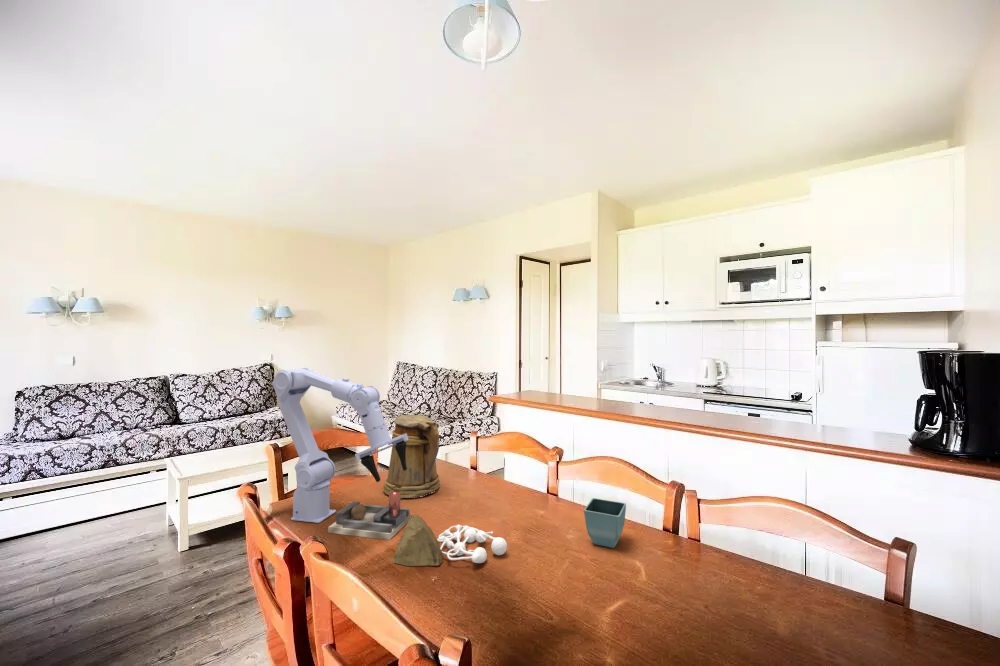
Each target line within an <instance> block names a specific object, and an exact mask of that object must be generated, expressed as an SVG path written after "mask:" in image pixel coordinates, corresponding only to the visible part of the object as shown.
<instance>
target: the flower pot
mask: <svg viewBox="0 0 1000 666" xmlns="http://www.w3.org/2000/svg"><path fill="white" fill-rule="evenodd" d="M626 509H627V504H626V503H625V502H621V501H615V500H614V501H613V500H607V499H601V498H597V497H594V498H591V499H590V501H589V502H588V504H587V505H586V506H585V507H584V509H583V512H584V521H585V527H586V532H587V534H588V536H589V538H590V541H592V543H593V544H594V545H598V546H601V547H606V548H610V549H611V548H612V549H614V548H616V547H617V544H618V542H619V539H620V537H621V535H622V533H623V530H624V527H625V522H626V521H625V520H626Z"/></svg>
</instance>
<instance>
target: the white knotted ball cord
mask: <svg viewBox="0 0 1000 666" xmlns="http://www.w3.org/2000/svg"><path fill="white" fill-rule="evenodd" d="M454 528H455V531H454V532H451V530H452V529H454ZM462 533H463V541H461V538H462V536H461V535H462ZM493 533H494V531H488V532H486V531H484V530H483V529H479V528H476V527H472V526H469V525H461V524H456V525H452V526H450V527H449V528H448V529H445V530H444V531H443V532H441V533H440V534H439V535H438V538H436V539H437V540H438V543H441V542H442V544H441V546H440V549H441V550H442V555H446V556H447V557H446V558H447V559H448V560H449V561H462V560H471V561H472V563H476V564H482V563H485V562H486V560H487V557H488V554H487V551H486V549H485V548H484V547H480V546H478V547H476V548H475V549H469V550H468V551H467V550H466V549H467V548H466V543H469V544H471V543H474V542H475V541H477V543H484V542H486V540H487V539H490V540H491V541H492V542H491V547H490V548H491V550H492V552H493V554H494V555H496V556H502V555H504V554H505V553H506V551H507V550H508V544H507V541H506V540H505V539H504V538H503V537H501V536H500V537H495V536H492V535H493ZM452 540H454V541H456V543H454V542H453V541H452ZM444 546H446V547H447V549H449V550H448V551H443V547H444ZM452 552H453V553H452ZM463 555H467V556H463ZM454 556H458V557H454Z"/></svg>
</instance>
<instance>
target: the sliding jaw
mask: <svg viewBox="0 0 1000 666" xmlns="http://www.w3.org/2000/svg"><path fill="white" fill-rule="evenodd" d="M400 508H401V498H400V490H391V491H389V495H388V504H387V505H386V507H385V508H383V509H382V510H381V511H379V512H378V513H377V514H376V515H374V522H375V523H384V524H392V528H397V527H398V526H399V525H400V524H401V523H402V522H403V521H404V520H405V519H406V510H405V509H400Z"/></svg>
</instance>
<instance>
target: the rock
mask: <svg viewBox="0 0 1000 666" xmlns="http://www.w3.org/2000/svg"><path fill="white" fill-rule="evenodd" d="M437 539H438V538H437V537H436V535H435V534H434V532H433V529H432V528H431V527H430V526H429V525H428V524H427V522H426V521H425V520H424V519H423V518H422V517H421V516H420V515H418V514H415V513H413V514H411V515H410V520H409V521H408V523H407V524H405V526H404V530H403V532H402V534H401V538H400V539H399V542H398V543H397V546H396V550H395V551H394V554H393V560H392V564H394V565H395V564H398V565H402V566H406V567H407V566H408V567H417V566H418V567H427V566H440V565H441V564H442V563H443V557H444V556H443V554H442V551H443V549H442V550H441V549H440V547H441V546H440V544H439V543H440V542H438V540H437Z"/></svg>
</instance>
